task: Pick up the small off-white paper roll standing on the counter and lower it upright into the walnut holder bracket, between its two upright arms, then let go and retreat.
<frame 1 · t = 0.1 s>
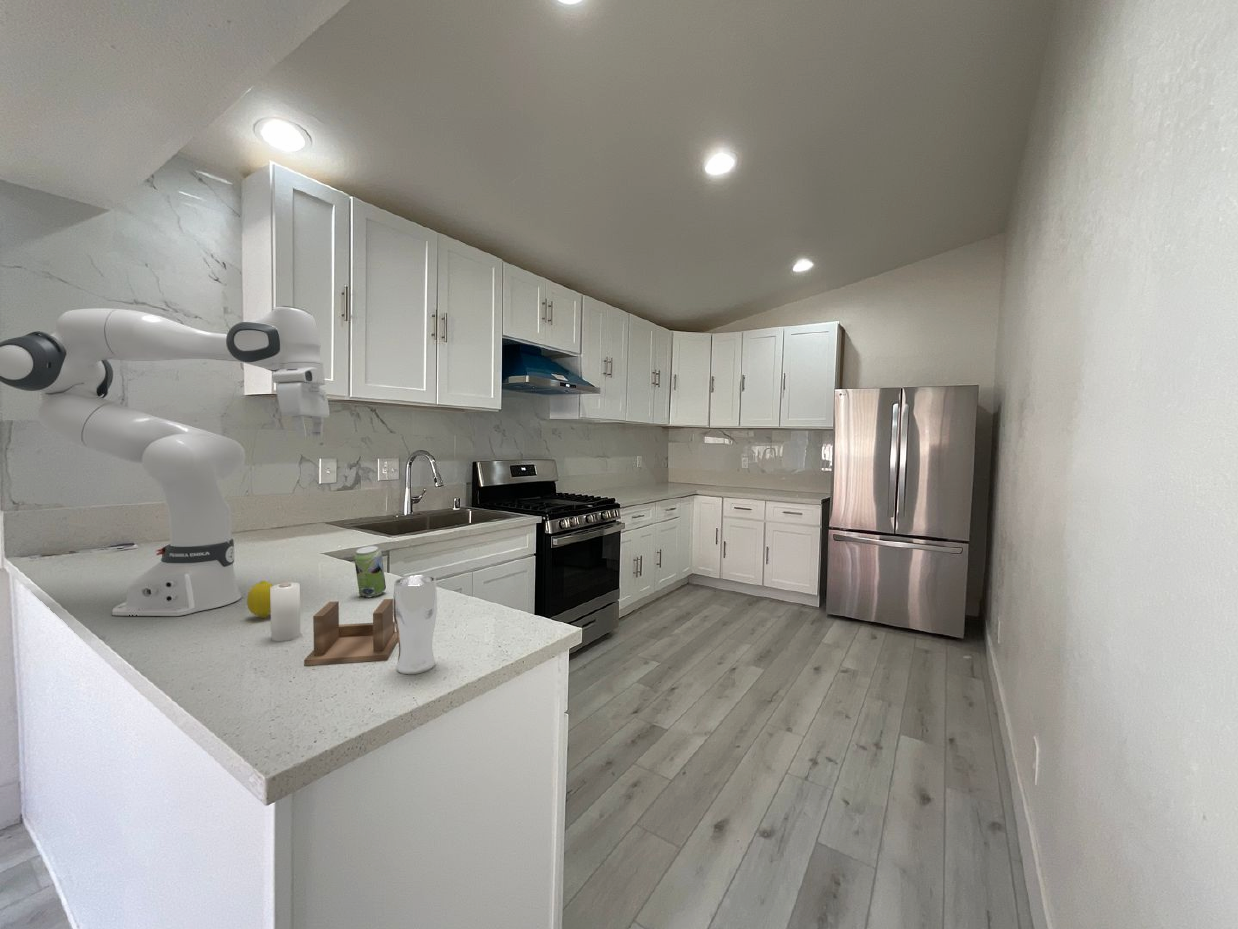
hand: (310, 436, 122), 39 cm above the worktop, tool pointing down, fingers open, 8 cm apart
holder: (355, 650, 95), on the worktop
beverage can: (370, 596, 127), on the worktop
beer glass: (415, 667, 88), on the worktop
roll: (286, 636, 100), on the worktop
lemon: (263, 618, 110), on the worktop
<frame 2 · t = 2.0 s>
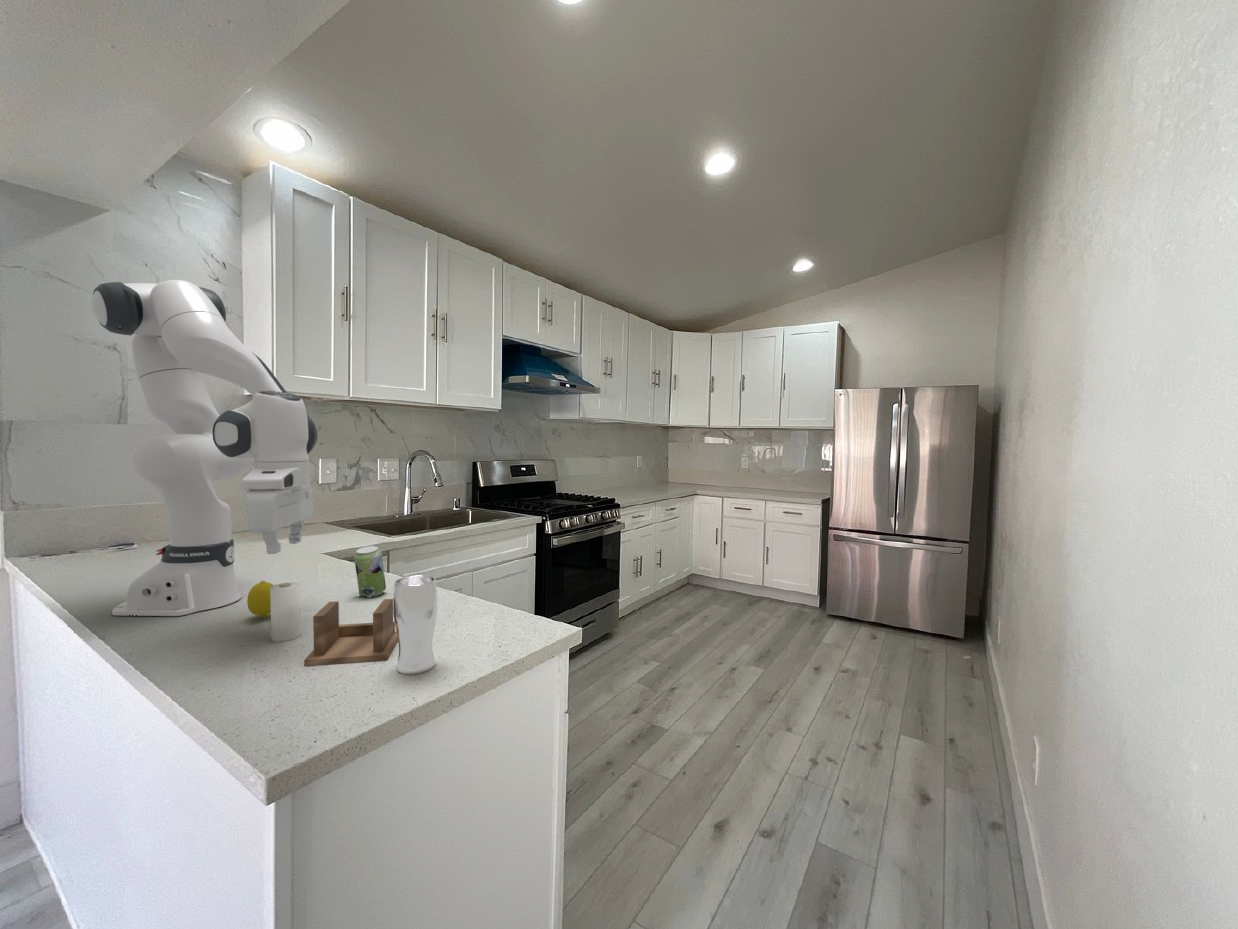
hand: (285, 548, 99), 17 cm above the worktop, tool pointing down, fingers open, 8 cm apart
nothing on the worktop moved.
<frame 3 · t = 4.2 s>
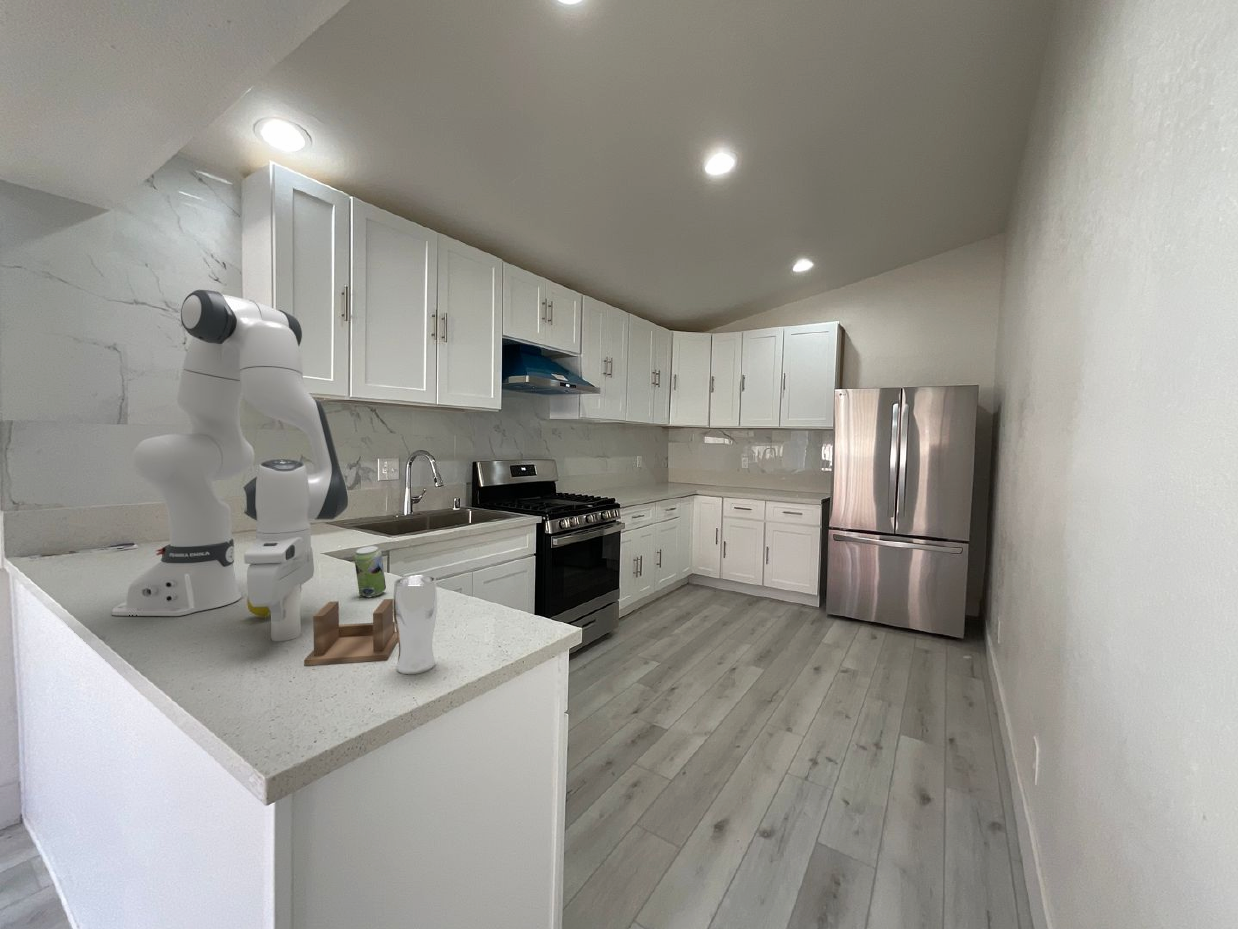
hand: (285, 614, 100), 4 cm above the worktop, tool pointing down, fingers closed on roll, 5 cm apart
roll: (286, 636, 100), on the worktop, touching gripper
everything else where it was.
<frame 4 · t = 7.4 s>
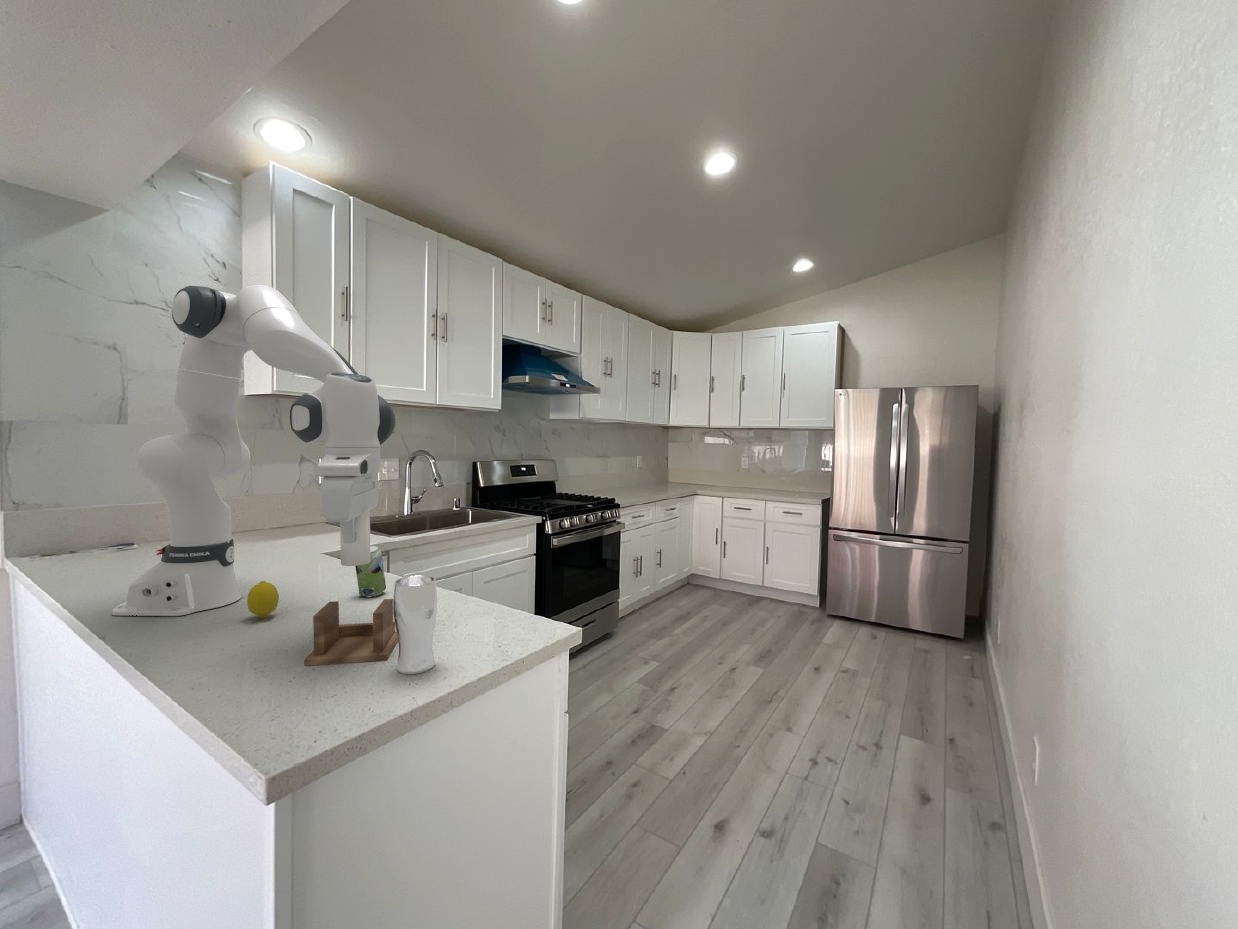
hand: (355, 539, 94), 20 cm above the worktop, tool pointing down, fingers closed on roll, 5 cm apart
roll: (355, 562, 94), point 16 cm above the worktop, touching gripper
everything else where it was.
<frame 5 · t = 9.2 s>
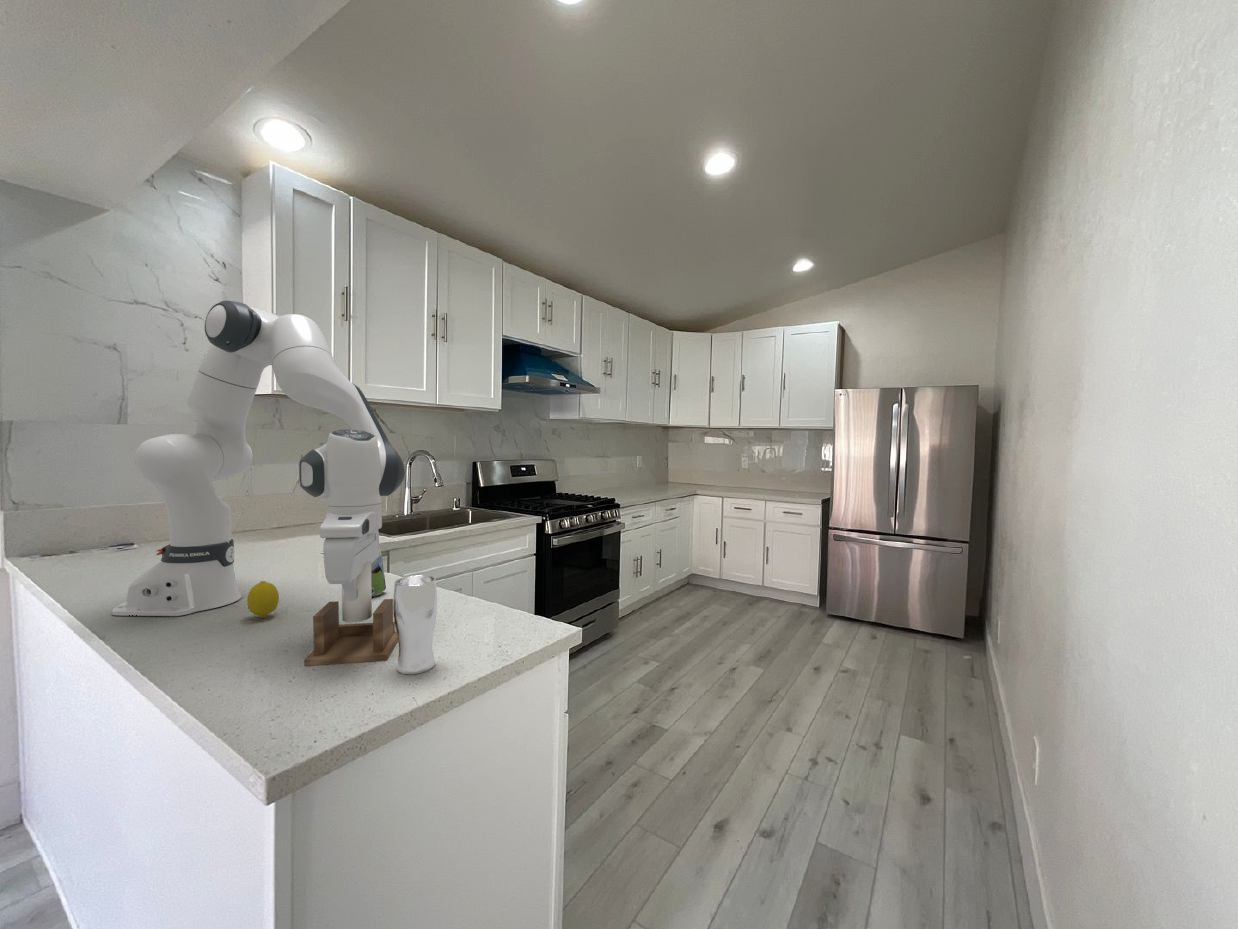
hand: (356, 594, 94), 10 cm above the worktop, tool pointing down, fingers closed on roll, 5 cm apart
roll: (357, 617, 94), point 6 cm above the worktop, touching gripper
everything else where it was.
when the fingers open (7 cm above the worktop, at t = 10.7 s): roll drops 1 cm, resting on holder.
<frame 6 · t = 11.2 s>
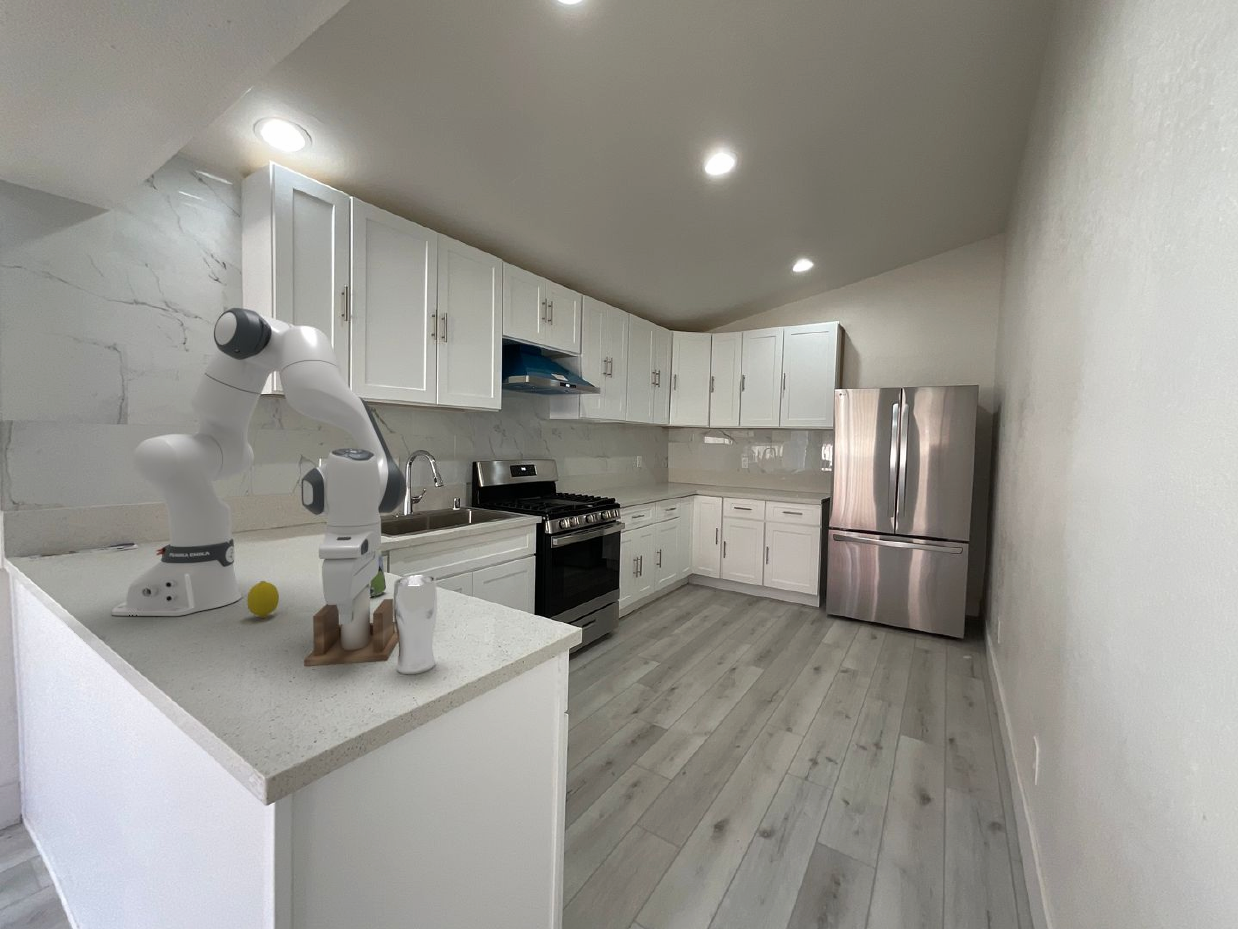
hand: (355, 613, 94), 7 cm above the worktop, tool pointing down, fingers open, 8 cm apart
roll: (355, 644, 95), point 1 cm above the worktop, touching holder
everything else where it was.
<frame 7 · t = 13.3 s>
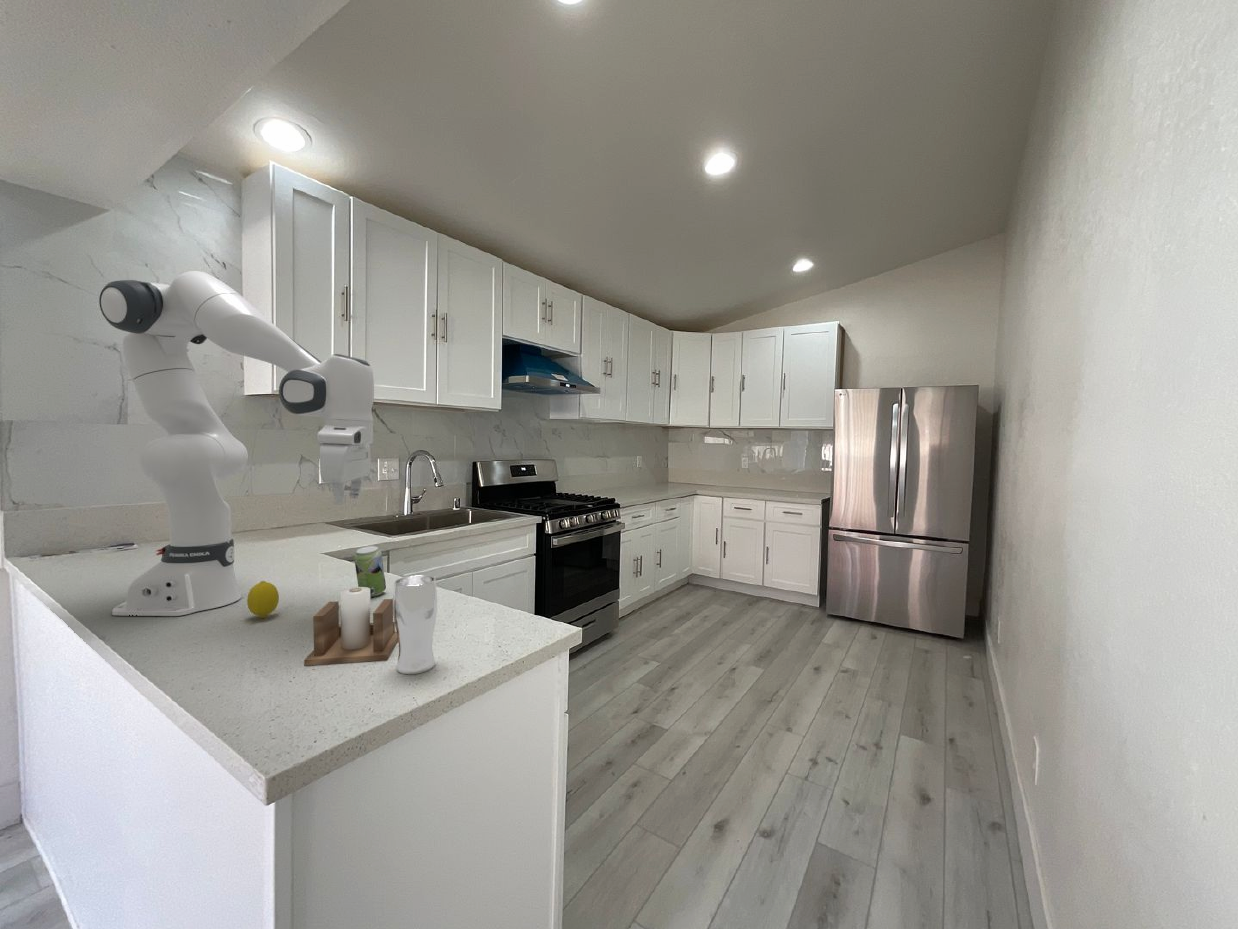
hand: (347, 501, 107), 26 cm above the worktop, tool pointing down, fingers open, 8 cm apart
nothing on the worktop moved.
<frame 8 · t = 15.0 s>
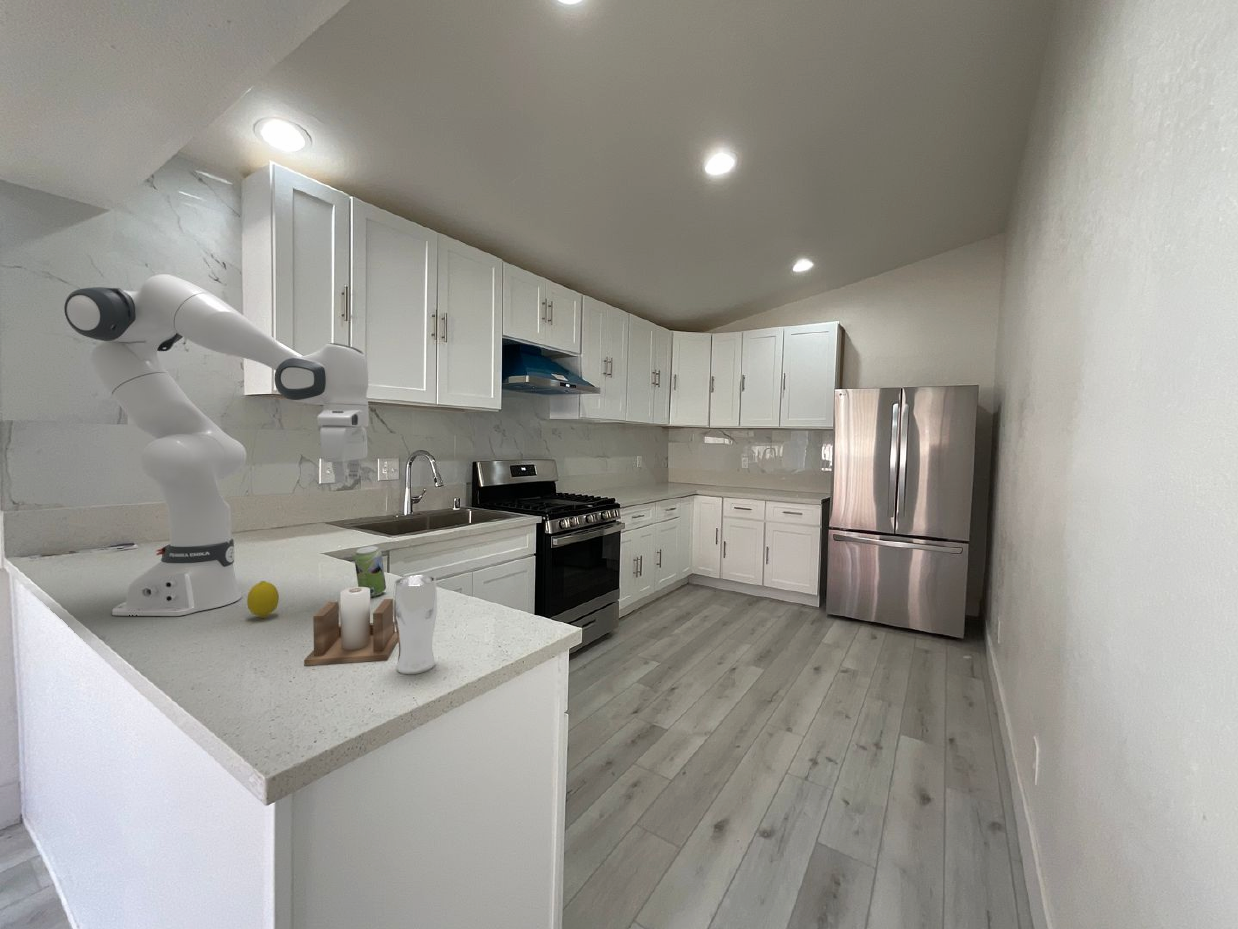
hand: (347, 480, 115), 29 cm above the worktop, tool pointing down, fingers open, 8 cm apart
nothing on the worktop moved.
at the end: roll inside the target area on the holder (0.0 cm from its centre), point 1.0 cm above the holder's base; roll tilted 1°; the gripper is holding nothing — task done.
